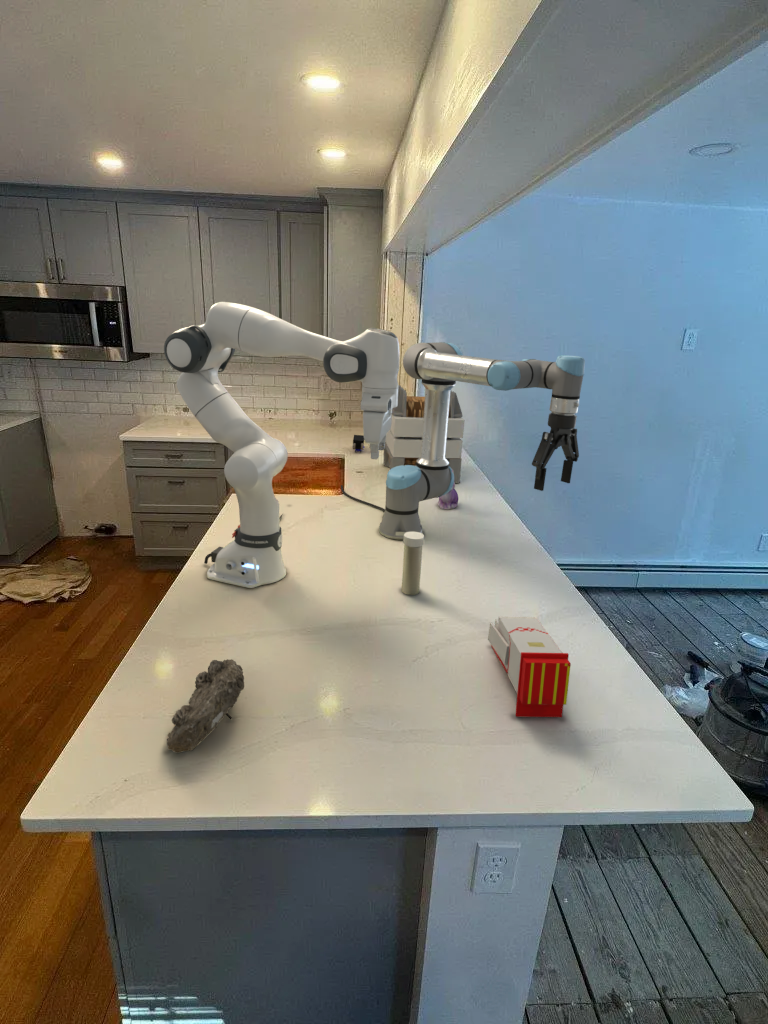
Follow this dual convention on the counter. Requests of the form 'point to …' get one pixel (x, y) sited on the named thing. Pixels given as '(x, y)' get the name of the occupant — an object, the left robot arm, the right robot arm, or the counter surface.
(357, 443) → the figurine character
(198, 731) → the fossil
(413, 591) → the jar
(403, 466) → the right robot arm
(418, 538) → the lid
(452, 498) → the figurine
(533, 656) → the toy
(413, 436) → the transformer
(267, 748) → the counter surface
